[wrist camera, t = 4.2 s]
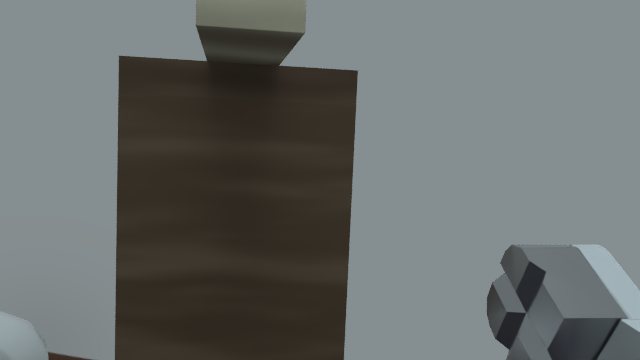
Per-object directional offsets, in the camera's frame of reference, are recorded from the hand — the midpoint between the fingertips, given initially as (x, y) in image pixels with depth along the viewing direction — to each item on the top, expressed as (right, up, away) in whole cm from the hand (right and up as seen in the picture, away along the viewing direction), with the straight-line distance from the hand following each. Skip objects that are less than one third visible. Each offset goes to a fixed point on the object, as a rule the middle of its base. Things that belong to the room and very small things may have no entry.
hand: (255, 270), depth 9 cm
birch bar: (-3, +7, +18) cm, 19 cm away
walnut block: (-4, -19, +24) cm, 31 cm away
